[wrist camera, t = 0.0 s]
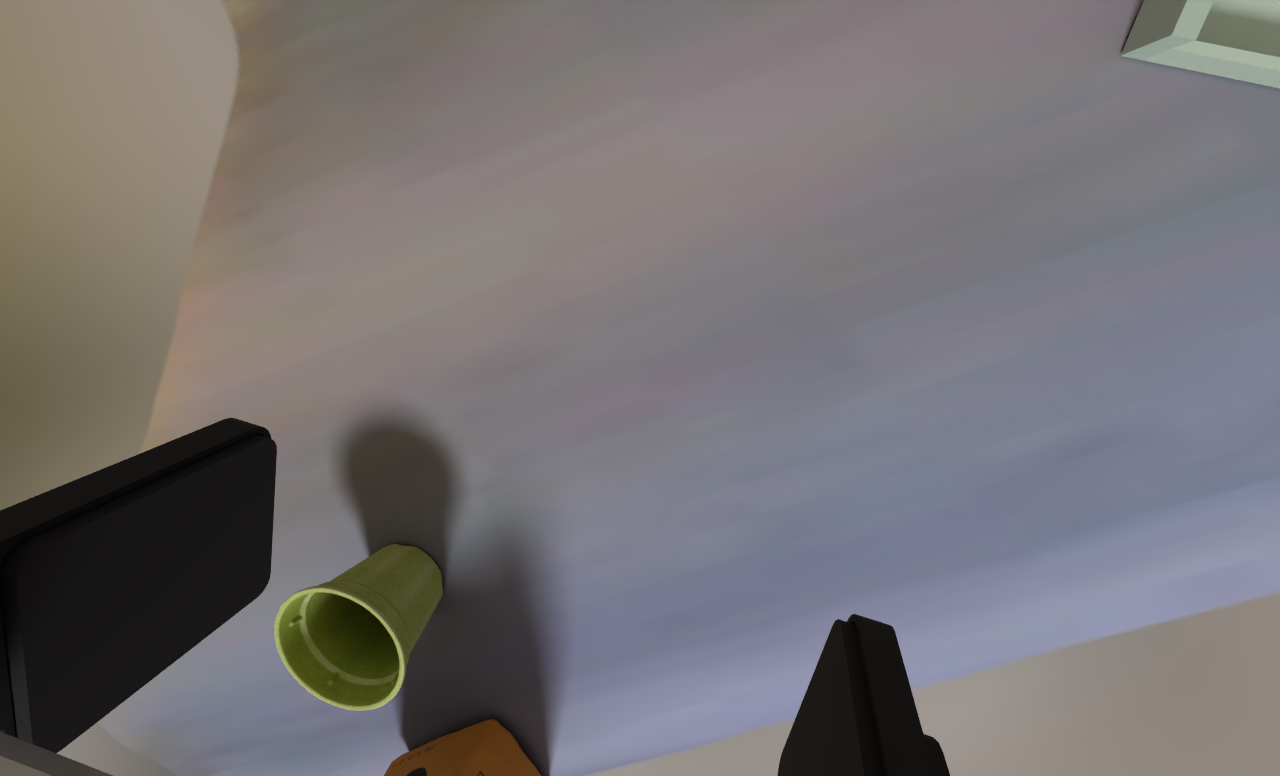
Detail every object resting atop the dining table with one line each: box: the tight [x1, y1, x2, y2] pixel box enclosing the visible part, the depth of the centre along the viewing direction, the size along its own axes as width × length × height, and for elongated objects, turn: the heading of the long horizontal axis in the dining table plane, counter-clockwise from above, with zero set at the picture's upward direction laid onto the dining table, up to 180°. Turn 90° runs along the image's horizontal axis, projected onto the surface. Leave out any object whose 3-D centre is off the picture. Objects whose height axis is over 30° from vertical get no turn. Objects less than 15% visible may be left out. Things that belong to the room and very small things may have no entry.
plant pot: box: [274, 544, 443, 711], centre depth 46 cm, size 9×9×9 cm
